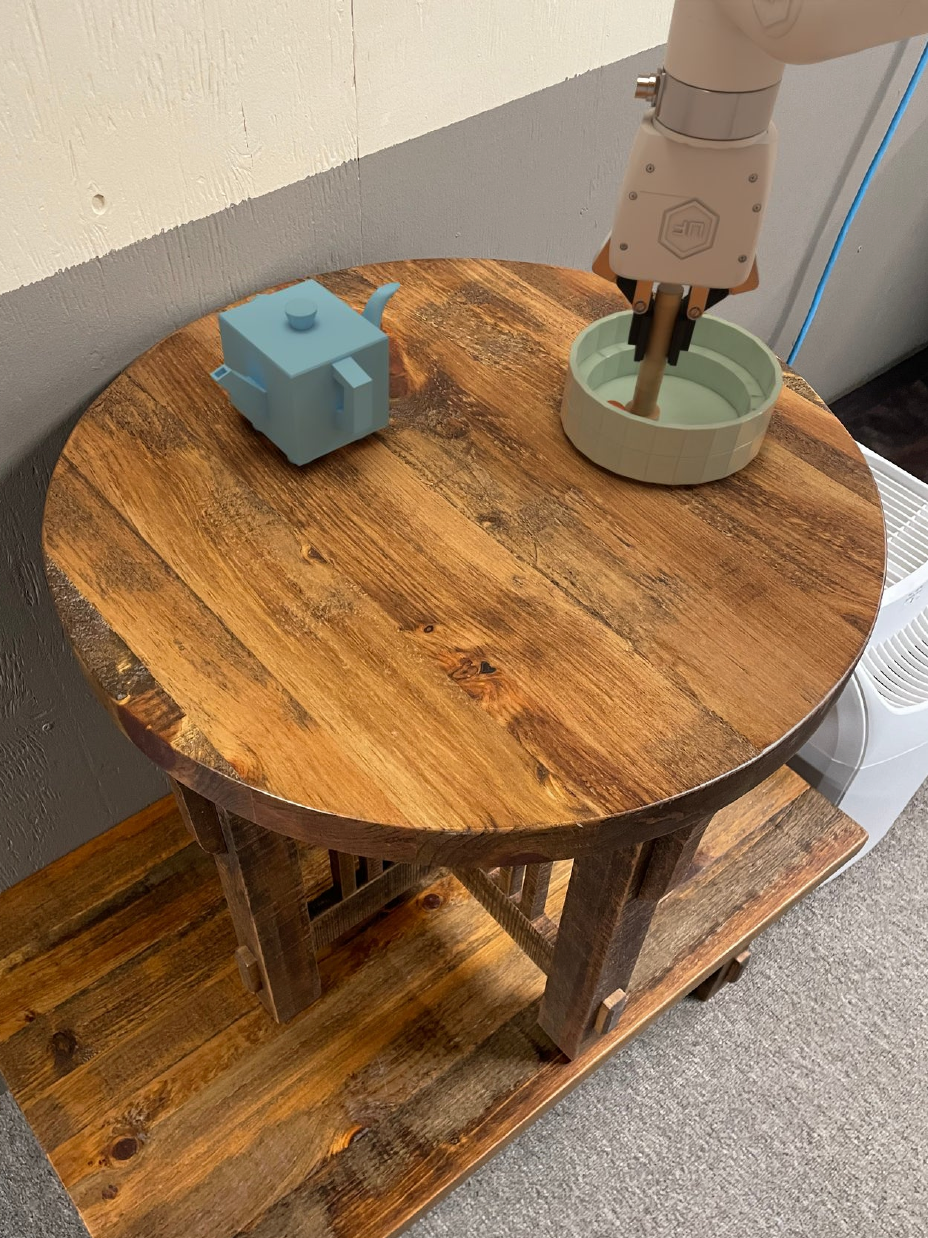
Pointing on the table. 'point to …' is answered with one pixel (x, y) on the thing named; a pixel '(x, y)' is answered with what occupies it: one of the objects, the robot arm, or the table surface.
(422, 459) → the table surface
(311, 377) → the teapot
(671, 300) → the rod
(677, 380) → the bowl
